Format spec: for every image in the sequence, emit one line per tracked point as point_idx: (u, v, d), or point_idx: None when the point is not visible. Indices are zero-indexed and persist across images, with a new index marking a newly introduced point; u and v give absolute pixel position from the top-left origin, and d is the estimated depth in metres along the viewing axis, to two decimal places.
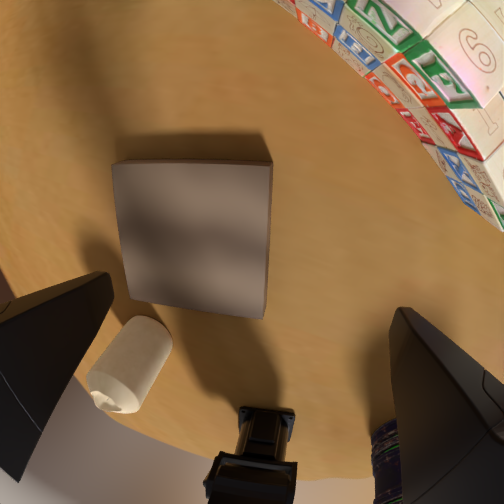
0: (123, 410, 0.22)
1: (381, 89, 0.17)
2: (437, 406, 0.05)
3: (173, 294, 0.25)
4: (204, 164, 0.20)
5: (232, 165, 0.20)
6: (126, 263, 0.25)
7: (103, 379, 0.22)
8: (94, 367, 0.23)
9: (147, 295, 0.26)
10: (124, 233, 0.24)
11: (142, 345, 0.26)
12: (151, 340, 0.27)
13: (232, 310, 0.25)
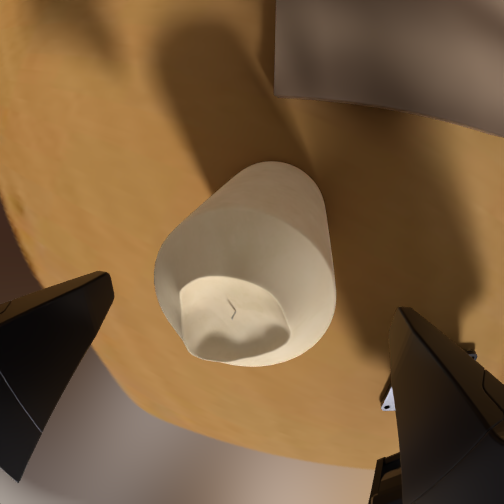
0: (288, 345, 0.08)
1: None
2: (437, 406, 0.05)
3: (378, 78, 0.11)
4: None
5: None
6: (282, 20, 0.11)
7: (242, 229, 0.08)
8: (196, 212, 0.09)
9: (318, 83, 0.12)
10: None
11: (302, 187, 0.12)
12: (311, 188, 0.13)
13: (474, 116, 0.11)
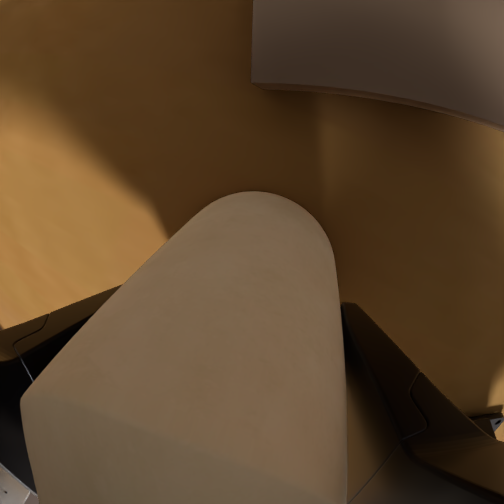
0: None
1: None
2: (363, 407, 0.05)
3: (430, 57, 0.06)
4: None
5: None
6: None
7: (120, 469, 0.02)
8: (53, 368, 0.03)
9: (330, 60, 0.06)
10: None
11: (299, 257, 0.06)
12: (314, 247, 0.08)
13: None
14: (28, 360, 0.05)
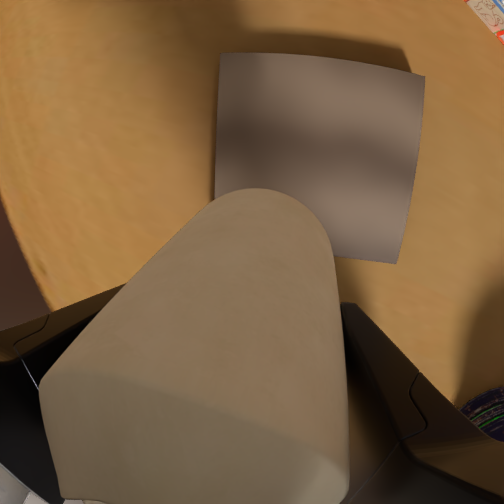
0: None
1: None
2: (362, 407, 0.05)
3: None
4: (353, 62, 0.14)
5: (386, 68, 0.14)
6: (219, 187, 0.19)
7: (148, 435, 0.03)
8: (77, 347, 0.04)
9: None
10: (225, 143, 0.18)
11: (301, 249, 0.07)
12: (315, 241, 0.08)
13: (362, 252, 0.19)
14: (28, 361, 0.05)
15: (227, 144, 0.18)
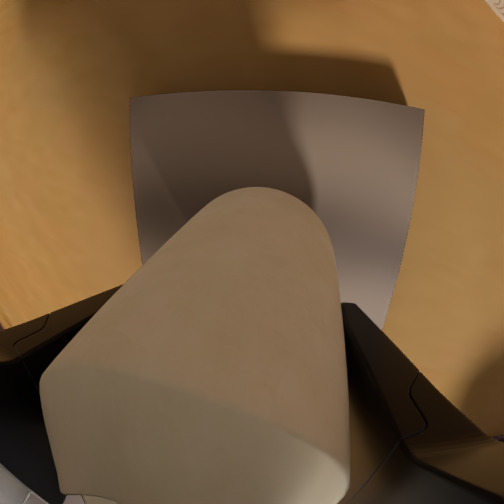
0: None
1: None
2: (361, 407, 0.05)
3: None
4: (313, 94, 0.10)
5: (364, 100, 0.10)
6: None
7: (148, 429, 0.03)
8: (79, 341, 0.04)
9: None
10: (147, 220, 0.14)
11: (303, 247, 0.07)
12: (316, 239, 0.08)
13: None
14: (28, 360, 0.05)
15: (149, 221, 0.14)
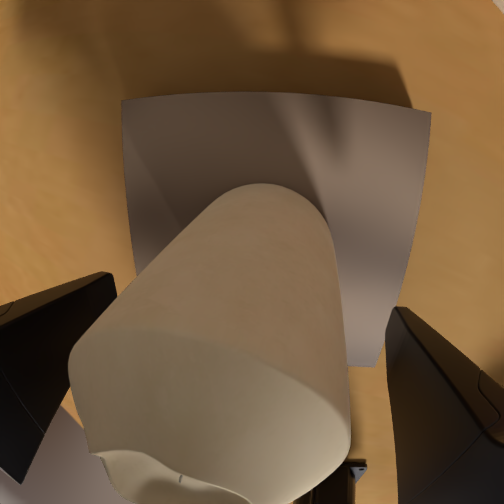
0: None
1: None
2: (432, 406, 0.05)
3: None
4: (314, 96, 0.10)
5: (368, 102, 0.09)
6: None
7: (181, 378, 0.03)
8: (113, 312, 0.04)
9: None
10: (140, 228, 0.13)
11: (305, 236, 0.08)
12: (317, 230, 0.09)
13: None
14: None
15: (143, 230, 0.13)
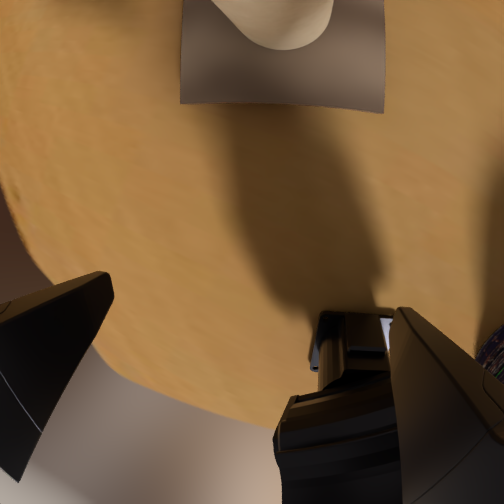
0: None
1: None
2: (437, 406, 0.05)
3: (254, 81, 0.16)
4: None
5: None
6: (186, 48, 0.15)
7: None
8: None
9: (210, 91, 0.16)
10: (191, 9, 0.14)
11: None
12: None
13: (343, 99, 0.15)
14: None
15: (193, 10, 0.14)
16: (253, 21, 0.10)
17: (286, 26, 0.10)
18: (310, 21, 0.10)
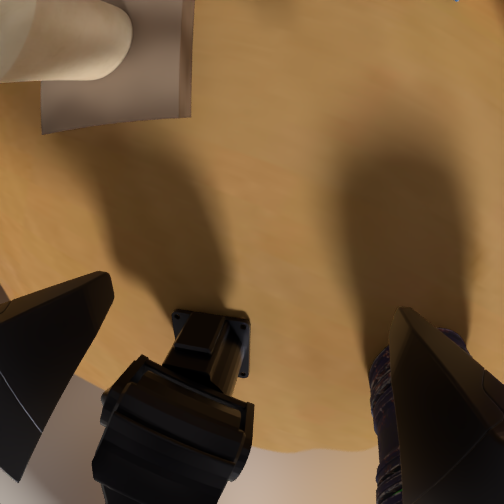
0: (0, 30, 0.07)
1: None
2: (437, 406, 0.05)
3: (81, 110, 0.17)
4: None
5: None
6: (43, 89, 0.17)
7: None
8: None
9: (57, 123, 0.18)
10: None
11: None
12: (101, 1, 0.11)
13: (142, 112, 0.17)
14: None
15: None
16: None
17: (51, 75, 0.11)
18: (69, 63, 0.11)
